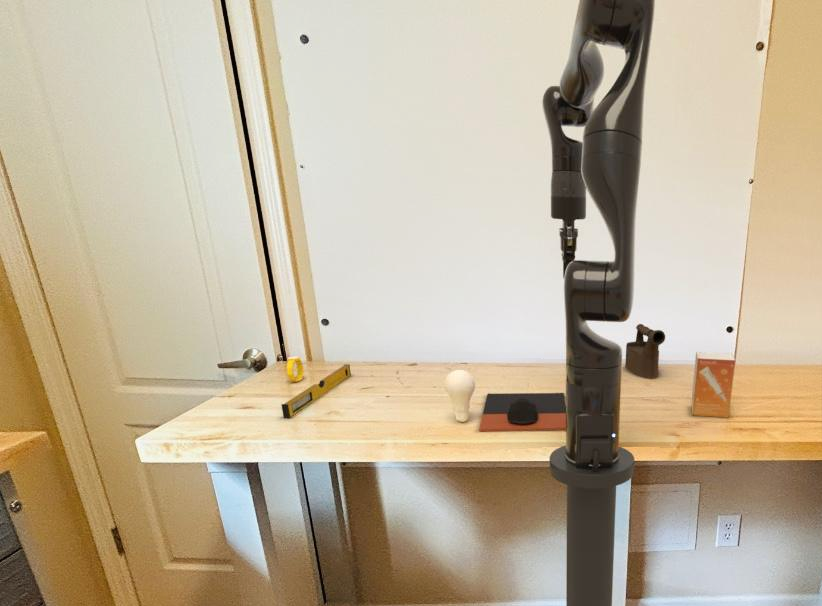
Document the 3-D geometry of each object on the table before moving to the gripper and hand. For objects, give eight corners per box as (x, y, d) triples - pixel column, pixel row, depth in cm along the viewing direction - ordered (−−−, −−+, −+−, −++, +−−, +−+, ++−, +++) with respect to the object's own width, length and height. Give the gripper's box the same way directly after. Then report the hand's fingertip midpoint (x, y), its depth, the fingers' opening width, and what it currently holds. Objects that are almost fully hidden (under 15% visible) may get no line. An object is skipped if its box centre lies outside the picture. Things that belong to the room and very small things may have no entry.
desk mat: (569, 430, 123) (569, 427, 123) (479, 431, 121) (479, 428, 121) (563, 395, 145) (563, 392, 145) (487, 395, 143) (487, 393, 143)
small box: (692, 416, 133) (697, 357, 128) (690, 407, 139) (695, 351, 134) (729, 418, 132) (735, 359, 127) (726, 409, 138) (732, 352, 133)
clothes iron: (640, 382, 157) (642, 330, 152) (624, 366, 171) (625, 319, 166) (669, 381, 159) (672, 330, 154) (650, 365, 173) (653, 318, 168)
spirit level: (345, 375, 156) (344, 364, 155) (351, 375, 156) (349, 364, 155) (283, 418, 125) (281, 404, 124) (290, 418, 126) (287, 404, 124)
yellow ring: (297, 384, 148) (293, 360, 146) (286, 384, 148) (281, 360, 146) (307, 377, 154) (303, 354, 151) (296, 377, 154) (292, 354, 151)
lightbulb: (483, 420, 127) (480, 369, 123) (463, 428, 122) (459, 375, 118) (461, 415, 130) (458, 365, 126) (441, 422, 125) (436, 371, 121)
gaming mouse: (538, 403, 136) (537, 386, 135) (538, 426, 123) (537, 407, 121) (509, 404, 136) (509, 386, 134) (506, 426, 122) (506, 407, 121)
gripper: (588, 195, 122) (587, 283, 129) (583, 195, 135) (582, 276, 141) (551, 194, 122) (552, 282, 128) (549, 195, 134) (550, 275, 140)
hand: (568, 279), depth 135 cm, fingers closed
